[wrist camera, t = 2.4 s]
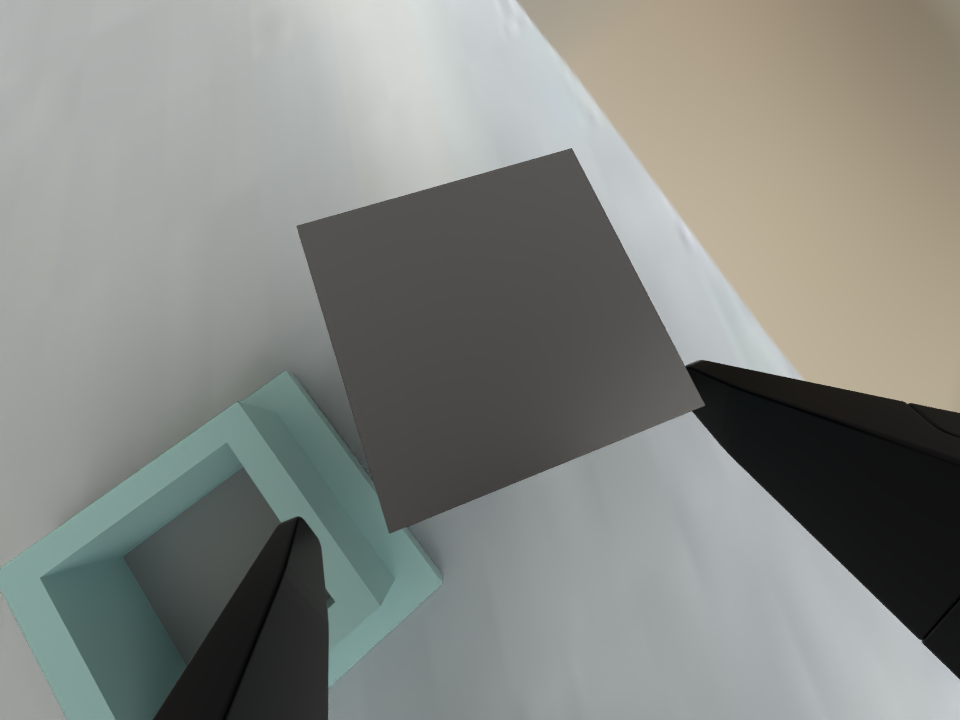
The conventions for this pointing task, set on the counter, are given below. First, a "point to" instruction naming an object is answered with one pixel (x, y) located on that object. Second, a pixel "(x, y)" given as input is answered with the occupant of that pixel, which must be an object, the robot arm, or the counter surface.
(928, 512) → the robot arm
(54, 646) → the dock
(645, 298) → the plug
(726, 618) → the counter surface
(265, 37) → the counter surface
